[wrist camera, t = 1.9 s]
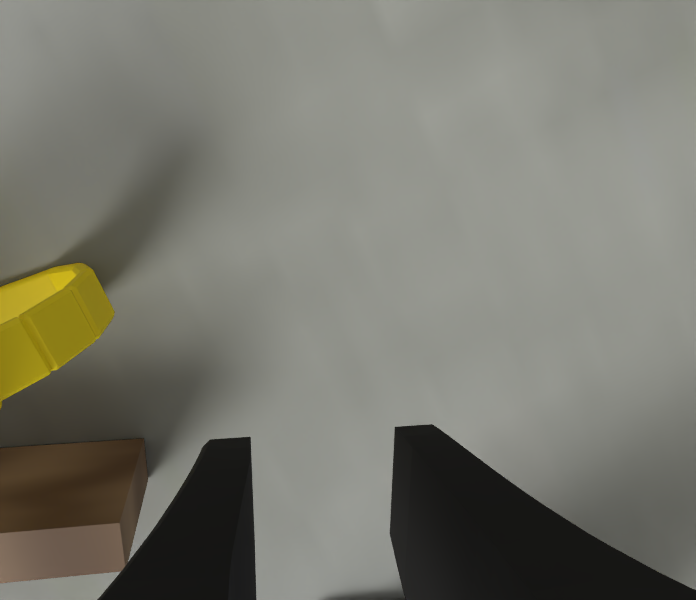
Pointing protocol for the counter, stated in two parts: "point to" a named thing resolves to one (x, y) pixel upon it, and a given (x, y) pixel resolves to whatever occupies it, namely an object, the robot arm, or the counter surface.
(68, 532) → the wooden u-shaped block
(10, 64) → the counter surface
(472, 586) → the robot arm
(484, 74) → the counter surface
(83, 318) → the watch
